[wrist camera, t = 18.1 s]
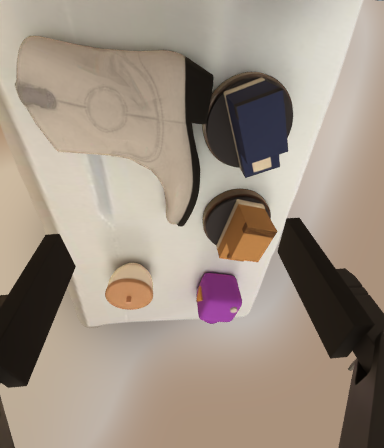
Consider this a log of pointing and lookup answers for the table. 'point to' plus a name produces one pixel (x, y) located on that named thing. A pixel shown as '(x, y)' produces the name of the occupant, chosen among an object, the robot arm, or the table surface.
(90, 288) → the table surface
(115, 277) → the trinket box
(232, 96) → the navy and black piece
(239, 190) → the turntable base
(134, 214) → the table surface
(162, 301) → the table surface
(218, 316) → the toy camera
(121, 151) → the cowboy boot
